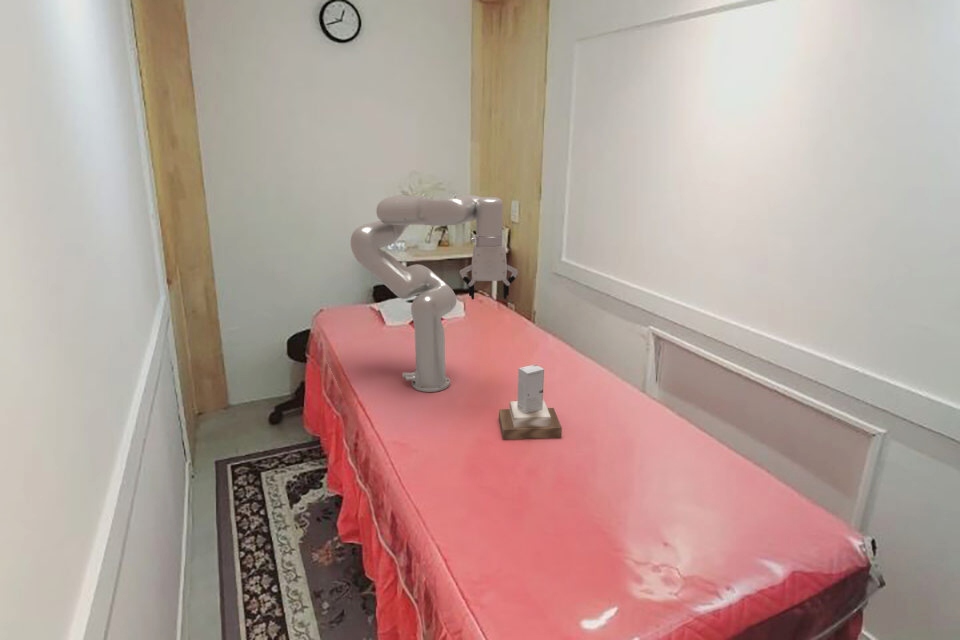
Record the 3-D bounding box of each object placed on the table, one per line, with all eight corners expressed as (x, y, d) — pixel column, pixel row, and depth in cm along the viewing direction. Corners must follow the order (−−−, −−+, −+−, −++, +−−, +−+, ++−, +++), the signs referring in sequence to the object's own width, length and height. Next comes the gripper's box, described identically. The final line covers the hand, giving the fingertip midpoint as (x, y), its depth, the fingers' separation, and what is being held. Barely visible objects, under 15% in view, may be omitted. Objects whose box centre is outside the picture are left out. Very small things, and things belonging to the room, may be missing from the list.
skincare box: (525, 414, 160) (526, 373, 156) (516, 407, 163) (517, 367, 159) (543, 409, 163) (545, 369, 159) (534, 402, 166) (535, 363, 162)
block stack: (503, 439, 158) (503, 419, 157) (498, 418, 170) (499, 400, 168) (561, 437, 160) (562, 418, 158) (553, 417, 171) (554, 398, 169)
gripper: (459, 243, 164) (460, 302, 170) (520, 243, 165) (519, 301, 171) (458, 239, 171) (459, 295, 177) (517, 238, 172) (515, 294, 178)
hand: (488, 297), depth 174 cm, fingers open, 9 cm apart
